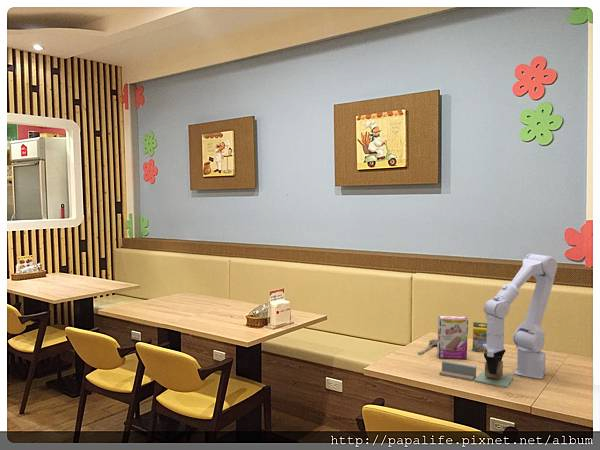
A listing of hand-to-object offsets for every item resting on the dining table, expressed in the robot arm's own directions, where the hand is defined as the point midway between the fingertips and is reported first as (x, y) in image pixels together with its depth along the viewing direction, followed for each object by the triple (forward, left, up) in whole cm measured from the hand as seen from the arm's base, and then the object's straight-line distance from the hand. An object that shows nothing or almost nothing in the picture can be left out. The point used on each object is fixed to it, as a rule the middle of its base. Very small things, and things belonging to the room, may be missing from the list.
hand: (494, 371), depth 192 cm
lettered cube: (0, 0, -2) cm, 2 cm away
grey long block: (+12, +3, -3) cm, 13 cm away
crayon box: (+12, -32, -3) cm, 34 cm away
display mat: (0, 0, -3) cm, 3 cm away
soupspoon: (+31, -24, -4) cm, 40 cm away
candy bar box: (+20, -17, -3) cm, 26 cm away
